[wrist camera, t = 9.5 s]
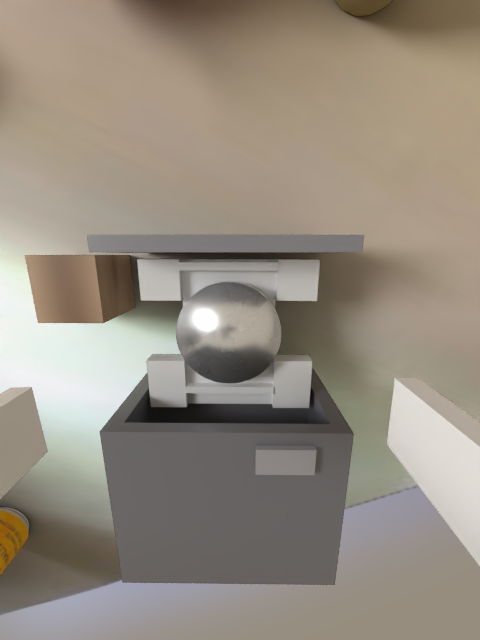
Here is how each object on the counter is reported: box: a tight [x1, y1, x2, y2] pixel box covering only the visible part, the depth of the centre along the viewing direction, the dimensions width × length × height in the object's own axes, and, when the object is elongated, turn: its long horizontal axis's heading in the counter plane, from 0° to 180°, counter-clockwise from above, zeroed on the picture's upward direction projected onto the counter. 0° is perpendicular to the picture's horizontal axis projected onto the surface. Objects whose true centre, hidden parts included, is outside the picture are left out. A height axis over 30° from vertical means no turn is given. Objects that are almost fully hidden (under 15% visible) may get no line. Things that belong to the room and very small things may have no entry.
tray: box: [87, 235, 364, 408], centre depth 21 cm, size 17×14×8 cm
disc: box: [176, 280, 281, 383], centre depth 20 cm, size 8×8×2 cm
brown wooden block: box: [25, 255, 135, 323], centre depth 22 cm, size 5×5×6 cm
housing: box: [100, 369, 354, 585], centre depth 24 cm, size 17×14×10 cm
